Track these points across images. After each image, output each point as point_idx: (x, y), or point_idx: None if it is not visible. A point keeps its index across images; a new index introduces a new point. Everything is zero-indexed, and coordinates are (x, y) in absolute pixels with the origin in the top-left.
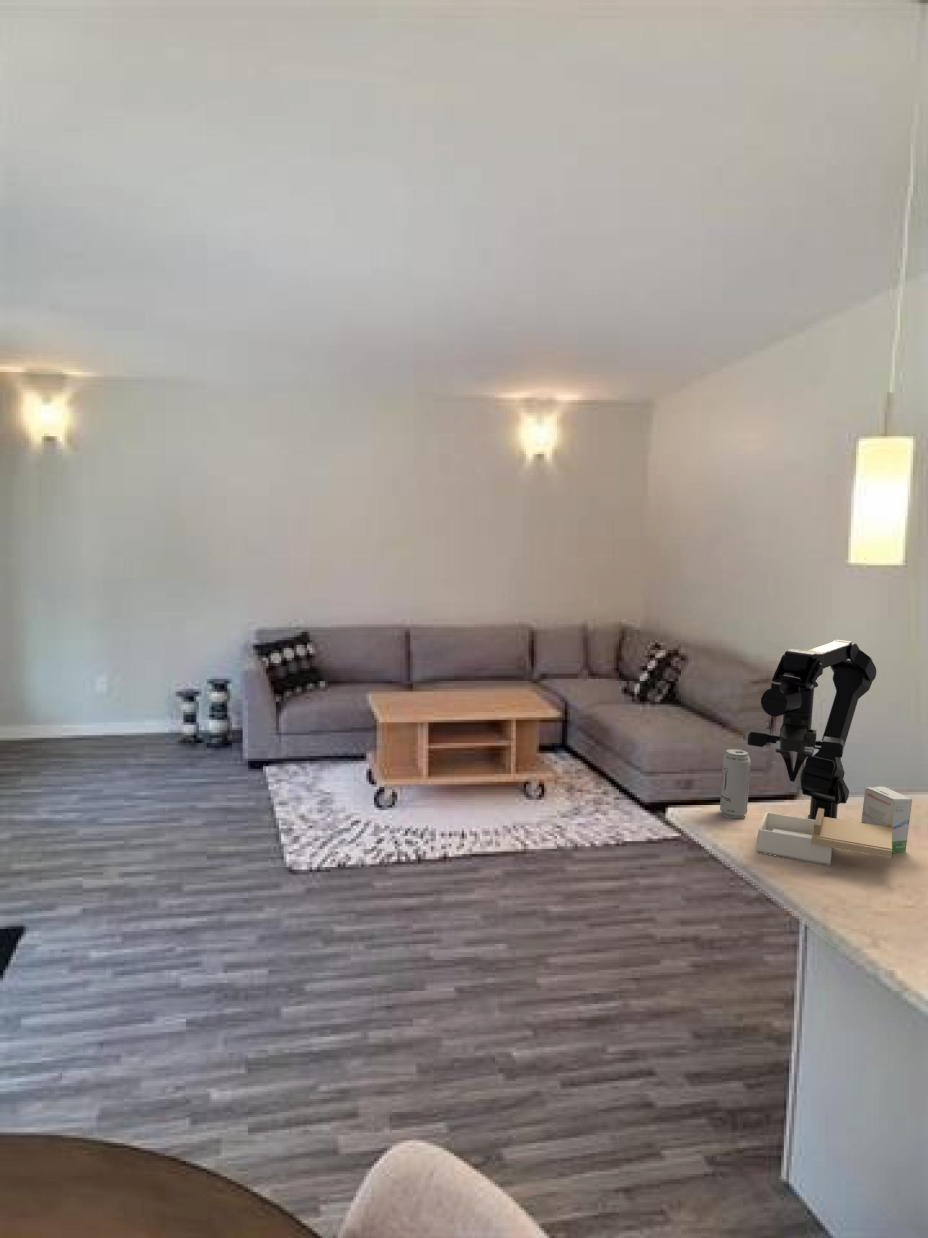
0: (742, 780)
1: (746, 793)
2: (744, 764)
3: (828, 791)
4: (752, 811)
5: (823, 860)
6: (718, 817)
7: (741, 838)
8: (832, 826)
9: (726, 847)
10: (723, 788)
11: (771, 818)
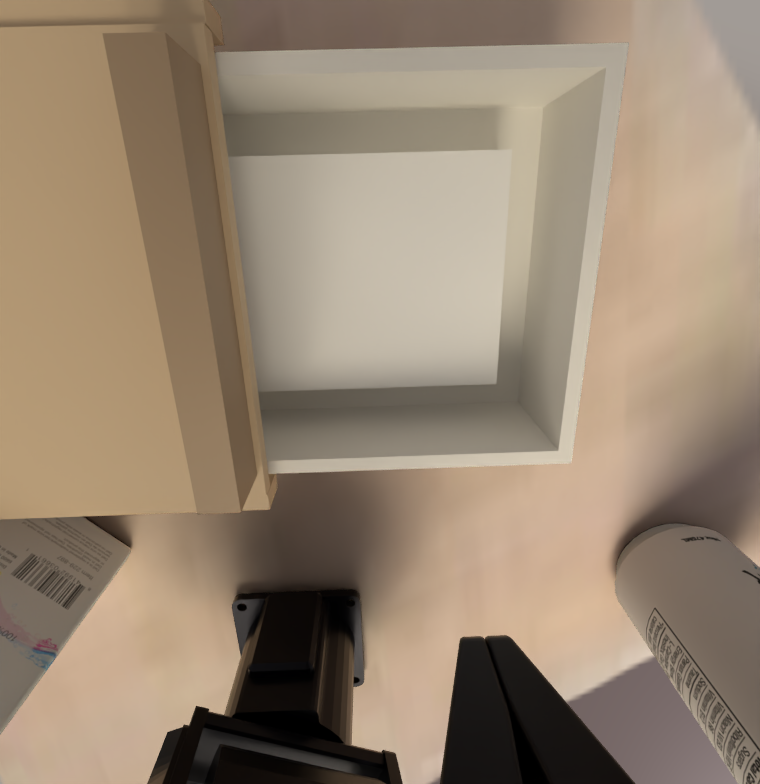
0: None
1: (691, 649)
2: None
3: (218, 763)
4: (581, 633)
5: None
6: (731, 504)
7: (633, 286)
8: (125, 339)
9: (722, 91)
10: None
11: (524, 437)
